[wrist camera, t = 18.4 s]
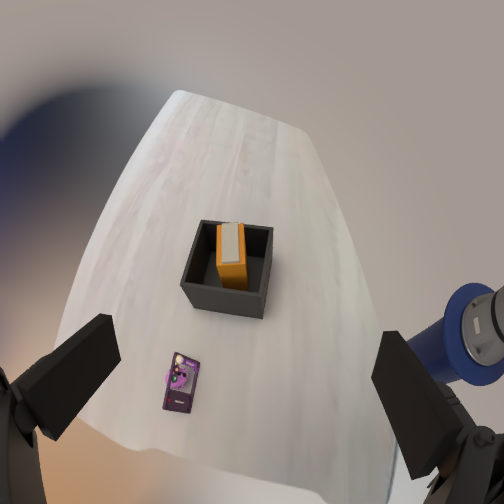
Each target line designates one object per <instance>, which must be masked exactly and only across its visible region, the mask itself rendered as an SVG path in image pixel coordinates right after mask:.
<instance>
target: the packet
mask: <svg viewBox="0 0 504 504" xmlns="http://www.w3.org/2000/svg"><path fill="white" fill-rule="evenodd" d="M216 266H217V269H218V273H219V276H220V279H221V282H222V286H223V288H227V289H233V290H240V291H248V292H249V279H248V262H247V252H246V242H245V233H244V224H243V223H240V224H238V222H234V223H222V225H217V254H216Z"/></svg>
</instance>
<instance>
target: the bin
mask: <svg viewBox="0 0 504 504" xmlns="http://www.w3.org/2000/svg"><path fill="white" fill-rule="evenodd" d="M222 223H228V222H219V221H209V220H201V221H200V224H199V227H198V230H197V233H196V236H195V239H194V242H193V245H192V248H191V251H190V254H189V257H188V260H187V263H186V266H185V270H184V273H183V276H182V279H181V283H180V286H181V287H182V289H183V291H184V292H185V294H186V296H187V297H188V299H189V301H190V302H191V304H192V305H193V307H194V308H197V309H203V310H208V311H214V312H220V313H226V314H232V315H239V316H246V317H252V318H259V319H263V313H264V307H265V301H266V294H267V288H268V282H269V275H270V269H271V262H272V250H273V227H265V226H256V225H247V224H244V233H245V242H246V252H247V262H248V279H249V292H248V291H240V290H233V289H227V288H223V286H222V282H221V279H220V276H219V273H218V269H217V266H216V254H217V225H222Z"/></svg>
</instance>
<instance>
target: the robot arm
mask: <svg viewBox="0 0 504 504" xmlns="http://www.w3.org/2000/svg"><path fill="white" fill-rule="evenodd" d="M460 337H461V342H462V345H463V348H464V350H465V352H466V354H467V356H468V357H469V358H470V359H471V361H472V362H474V363H475V364H477V365H479V366H482V367H488V366H491V365H493V364H496V363H497V362H499V361H500V360H501V359H502V358H503V357H504V286H503V287H502V288H500V289H499V290H498V291H497V292H493V293H489V294H485V295H480V296H478V297H476V298H474V299H472V300H471V301H470V302H469V303H468V304H467V305H466V306H465V308H464V309H463V312H462V314H461V318H460ZM120 361H121V357H120V353H119V349H118V344H117V340H116V335H115V330H114V325H113V320H112V315H106V314H99V315H97V316H96V317H95V318H94V319H92V320H91V321H90V322H88V323H87V324H86V325H85V326H84V327H82V328H81V329H80V330H79V331H77V332H76V333H75V334H74V335H72V336H71V337H70V338H69V339H68V340H66V341H65V342H64V343H63V344H62V345H60V346H59V347H58V348H57V349H56V350H54V351H53V352H52V353H50V354H48V355H46V356H44V357H42V358H40V359H39V360H38V361H37V362H36V363H35V365H32V366H31V367H30V368H29V369H28V370H26V371H25V372H24V373H23V374H22V375H20V376H19V377H18V378H17V379H16V380H15V381H14V382H12V383H11V384H9V382H8V380H7V378H6V375H5V373H4V371H3V369H2V368H1V367H0V504H47V502H46V497H45V493H44V487H43V482H42V476H41V469H40V462H39V453H38V443H37V434H36V431H35V430H34V429H35V427H36V426H37V425H38V427H39V428H40V430H41V432H42V433H43V435H45V436H47V437H49V438H50V439H52V440H54V441H57V440H58V438H59V437H60V436H61V435H62V433H63V432H64V431H65V429H66V428H67V427H68V426H69V424H70V423H71V422H72V420H73V419H74V418H75V417H76V415H77V414H78V413H79V412H80V410H81V409H82V408H83V407H84V405H85V404H86V403H87V402H88V400H89V399H90V398H91V397H92V395H93V394H94V393H95V392H96V390H97V389H98V388H99V387H100V385H101V384H102V383H103V382H104V381H105V379H106V378H107V377H108V376H109V374H110V373H111V372H112V371H113V370H114V368H115V367H116V366H117V365H118V364H119V362H120ZM371 379H372V381H373V383H374V386H375V388H376V390H377V393H378V395H379V397H380V400H381V402H382V404H383V407H384V409H385V412H386V414H387V417H388V419H389V421H390V424H391V426H392V429H393V431H394V434H395V437H396V439H397V442H398V444H399V447H400V449H401V452H402V455H403V457H404V460H405V463H406V466H407V468H408V471H409V474H410V477H411V480H414V479H417V478H421V477H424V476H428V475H430V473H431V472H432V471H433V470H434V468H435V467H436V466H437V468H438V470H439V473H438V474H437V476H436V477H435V478H434V479H433V480H432V481H431V482H430V484H429V485H428V486H427V488H430V486H431V485H432V486H431V489H430V491H429V493H428V495H427V497H426V499H425V501H424V503H423V504H504V433H503V434H495V432H494V431H493V430H492V429H490V428H488V427H486V426H477V425H476V424H475V422H474V421H473V419H472V418H471V416H470V415H469V414H468V412H467V411H466V409H465V408H464V406H463V405H462V404H460V400H459V399H458V398H457V397H456V395H455V394H454V392H453V391H452V389H451V388H450V387H449V386H447V385H446V384H445V383H443V382H442V381H440V382H435V381H434V380H433V379H432V377H431V376H430V374H429V373H428V371H427V370H426V369H425V367H424V366H423V364H422V363H421V362H420V360H419V359H418V358H417V356H416V355H415V353H414V352H413V351H412V349H411V348H410V347H409V345H408V344H407V343H406V341H405V340H404V339H403V337H402V336H401V335H400V333H399V332H398V331H384V332H383V335H382V339H381V343H380V347H379V351H378V355H377V359H376V362H375V366H374V369H373V373H372V376H371Z"/></svg>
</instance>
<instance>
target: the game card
mask: <svg viewBox="0 0 504 504" xmlns="http://www.w3.org/2000/svg"><path fill="white" fill-rule="evenodd" d="M175 362H176V363H177V364H178V365H175ZM180 364H184V365H187V366H190V367H192V368H194V371H195V374H194V379H193V384H192V389H191V394H188V393H184V392H180V391H176V390H172V389H170V387H171V388H177V390H178V389H179V386H181V385H182V387H183V386H184V383H185V382H186V381H187V376H188V375H187V373H188V372H186V367H185V369H184V370H183V369H181V368H179V365H180ZM199 366H200V362H198V361H196V360H193V359H191V358H189V357H187V356H184V355H182V354H180V353H178V352H175V353H174V356H173V360H172V365H171V369H170V370H169V371H168V372H167V374H166V383H167V388H166V393H165V398H164V403H163V409H164V410H169V411H175V412H182V413H189V414H190V412H191V407H192V401H193V396H194V391H195V386H196V381H197V376H198V371H199Z"/></svg>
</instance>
